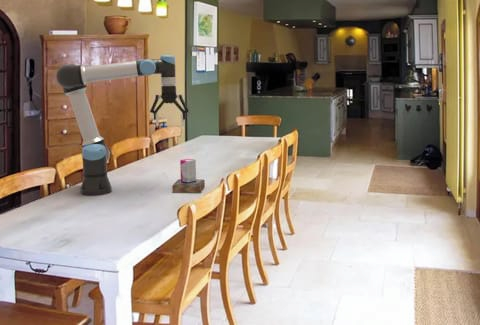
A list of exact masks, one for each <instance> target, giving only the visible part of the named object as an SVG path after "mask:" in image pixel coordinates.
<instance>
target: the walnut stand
mask: <svg viewBox="0 0 480 325" xmlns="http://www.w3.org/2000/svg"><path fill="white" fill-rule="evenodd" d="M205 183H206V182H205V179H198V178H196V182H192V183H183V182H181V178H179V179H177V180H176V181H175V182H174V183H173V184H172V185H171V186H172V188H171V190H172V193H178V194H181V193H183V194H186V193H188V194H201V193H202V192H203V190H204V189H205V186H206V185H205Z"/></svg>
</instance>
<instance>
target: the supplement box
mask: <svg viewBox="0 0 480 325" xmlns="http://www.w3.org/2000/svg"><path fill="white" fill-rule="evenodd" d="M179 163H180V164H179V165H180V179H181V182H183V183H192V182H196V179H197V161H196V159H194V158H185V159H180V161H179Z"/></svg>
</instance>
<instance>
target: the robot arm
mask: <svg viewBox="0 0 480 325" xmlns="http://www.w3.org/2000/svg"><path fill="white" fill-rule="evenodd" d="M152 75H160V84H161V90H160V91H161V94H155V96H154V97H155V99H154V102H153V104H152V106H151V108H150V111H149V112H150V113H152V114H153V120H154V121H155V127H159V126H160V123H159V122H160V121H159V113H158V112H159V111H160V109H161V108H162V107H163V105H164V104H174V105H175V106H176V107H177V109H178V110H179V111H180V112H181V114H180V116H181V118H180V119H181V127H185V121H186V116H187V115H186V114H187V113H189V112H190V110H189V107H188V106H187V103H186V102H185V101H184V98H183V94H177V86H176V85H177V81H176V57H175V55H169V54H167V55H165V54H163V55H160V57H159V58H157V59H154V58H153V59H151V58H150V59H148V58H147V59H145V58H143V59H137V60H131V61H124V62H116V63H107V64H99V65H90V66H84V65H83V64H81V65H76V64H72V63H70V64H64V65H62V66H60V67H59V68H58V69H57V70H56V73H55V79H56V80H55V81H56V82H57V84H58V85H59V86H60V87H62V90H63V93H64V95H66V96H67V97H68V99H69V101H70V105H71V107H72V110H73V114H74V117H75V119H76V123H77V125H78V128H79V131H80V135H81V137H82V140H83V141H82V144H81V146H82V148H81V149H82V150H81V158H82V173H83V180H82V183H81V185H80V186H81V187H80V194H81V195H85V196H100V195H106V194H110V193H111V192H112V191H113V190H112V189H113V188H112V185H111V182H110V179H109V177H108V165H107V163H108V162H109V160H110V155H111V154H110V148H108V146H107V144H106V141H105V139H104V137H102V136H101V135H100V132H99V129H98V126H97V123H96V121H95V117H94V115H93V112H92V108H91V106H90V102H89V99H88V96H87V93H86V91H87V88H88V86H87V83H95V82H103V81H110V80H119V79H125V78H126V79H127V78H134V77H143V76H152ZM160 99H161V101H160V103H159V105H158V106H157V104H158V101H159V100H160ZM177 99H178V100H179V101H180V103H181V105H182V106H181V105H180V103H179V102H178V100H177ZM156 106H157V107H156Z"/></svg>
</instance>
